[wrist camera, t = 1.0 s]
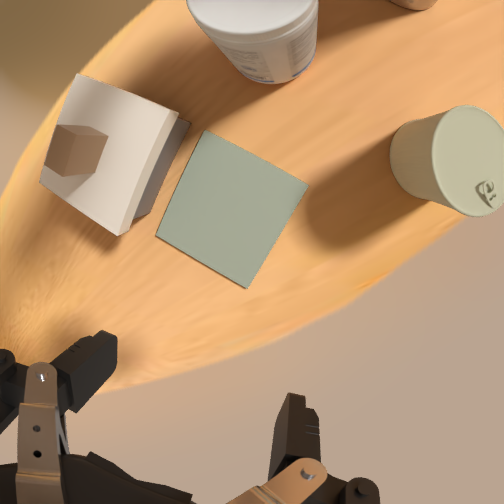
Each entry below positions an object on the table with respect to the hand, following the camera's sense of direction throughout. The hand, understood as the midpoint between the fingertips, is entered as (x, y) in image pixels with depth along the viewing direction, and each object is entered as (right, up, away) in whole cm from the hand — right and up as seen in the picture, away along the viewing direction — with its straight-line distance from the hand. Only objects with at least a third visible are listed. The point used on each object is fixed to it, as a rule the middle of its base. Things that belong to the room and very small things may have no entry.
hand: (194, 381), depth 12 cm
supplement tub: (+5, +28, +16) cm, 33 cm away
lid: (-13, +17, +16) cm, 27 cm away
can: (+22, +16, +17) cm, 32 cm away
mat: (0, +10, +22) cm, 24 cm away
